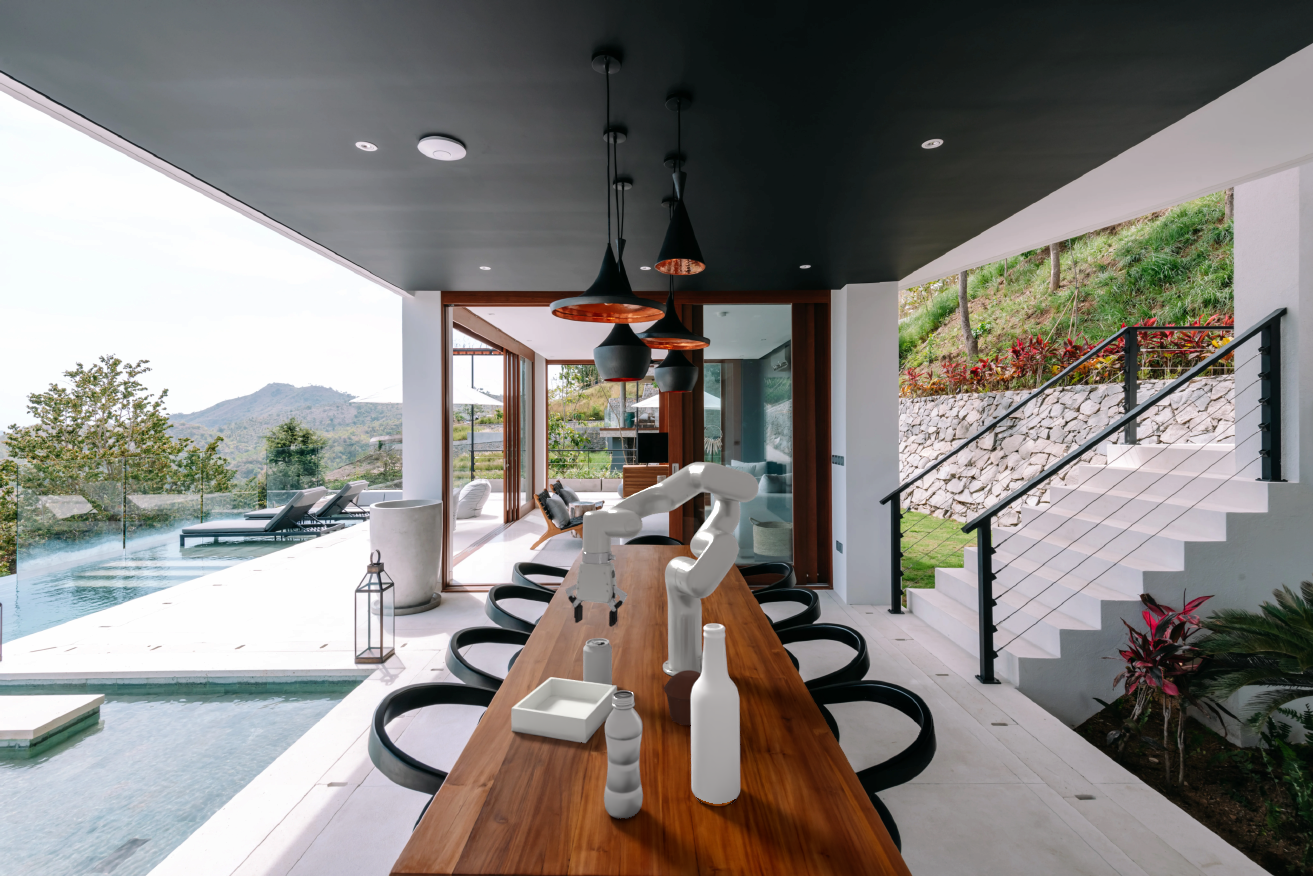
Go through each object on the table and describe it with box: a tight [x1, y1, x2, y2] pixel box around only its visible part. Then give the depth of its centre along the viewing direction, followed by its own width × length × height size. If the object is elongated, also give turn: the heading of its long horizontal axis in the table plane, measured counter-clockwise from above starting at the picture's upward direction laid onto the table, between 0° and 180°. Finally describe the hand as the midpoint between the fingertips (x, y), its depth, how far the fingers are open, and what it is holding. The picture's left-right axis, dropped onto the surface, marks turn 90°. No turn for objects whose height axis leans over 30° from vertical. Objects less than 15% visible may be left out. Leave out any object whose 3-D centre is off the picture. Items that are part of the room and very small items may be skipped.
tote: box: [510, 676, 618, 744], centre depth 131 cm, size 18×18×5 cm
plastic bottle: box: [603, 690, 644, 820], centre depth 97 cm, size 6×7×20 cm
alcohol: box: [690, 623, 741, 804], centre depth 102 cm, size 9×9×30 cm
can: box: [582, 637, 613, 685], centre depth 148 cm, size 8×8×12 cm
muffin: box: [663, 670, 701, 726], centre depth 132 cm, size 12×11×10 cm
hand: (595, 623), depth 148 cm, fingers open, 9 cm apart
